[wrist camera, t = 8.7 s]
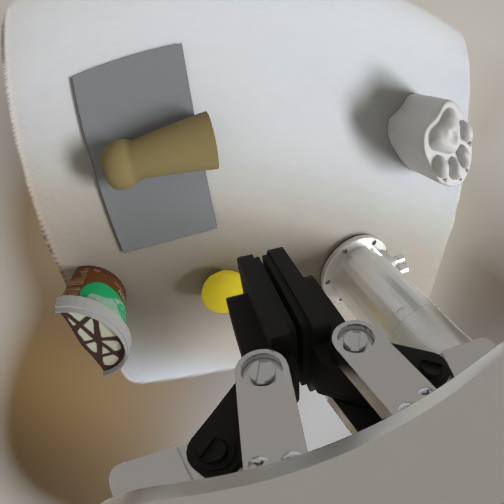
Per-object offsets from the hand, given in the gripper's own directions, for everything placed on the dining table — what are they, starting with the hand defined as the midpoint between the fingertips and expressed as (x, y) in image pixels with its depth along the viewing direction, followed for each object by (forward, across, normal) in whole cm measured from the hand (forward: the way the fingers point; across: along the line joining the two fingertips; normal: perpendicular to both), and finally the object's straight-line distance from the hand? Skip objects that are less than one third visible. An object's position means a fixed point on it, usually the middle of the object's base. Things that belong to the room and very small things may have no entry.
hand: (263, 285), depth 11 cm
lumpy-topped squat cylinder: (+24, -32, +1) cm, 40 cm away
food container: (+24, +16, +14) cm, 32 cm away
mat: (+23, +6, -2) cm, 24 cm away
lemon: (+24, +1, +16) cm, 29 cm away
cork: (+20, -1, -2) cm, 21 cm away
